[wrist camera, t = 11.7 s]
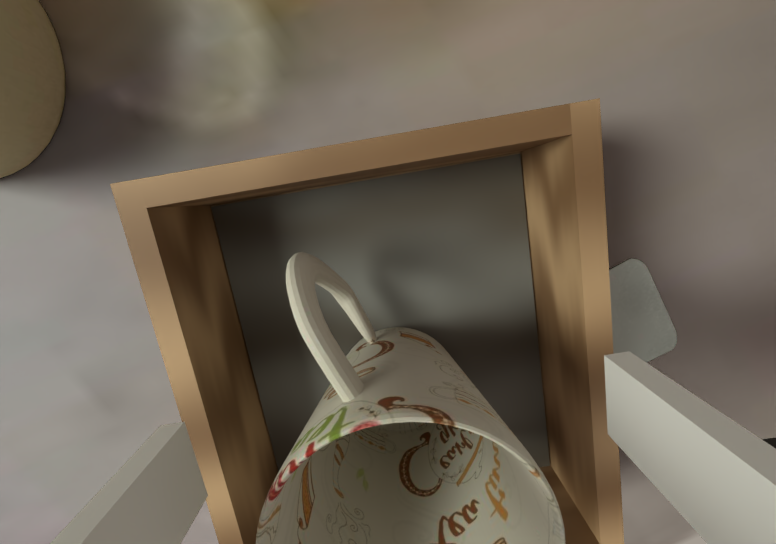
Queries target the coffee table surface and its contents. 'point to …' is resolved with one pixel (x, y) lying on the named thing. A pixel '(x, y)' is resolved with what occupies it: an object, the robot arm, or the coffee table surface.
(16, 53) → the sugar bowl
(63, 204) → the coffee table surface
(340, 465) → the mug
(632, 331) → the mounting bracket
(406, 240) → the open wooden crate
